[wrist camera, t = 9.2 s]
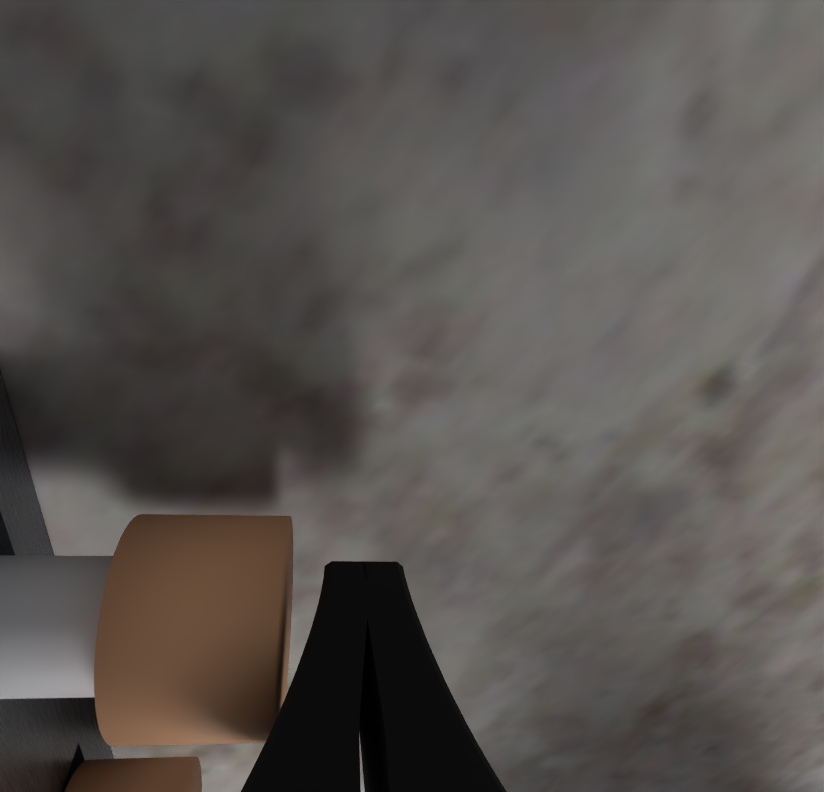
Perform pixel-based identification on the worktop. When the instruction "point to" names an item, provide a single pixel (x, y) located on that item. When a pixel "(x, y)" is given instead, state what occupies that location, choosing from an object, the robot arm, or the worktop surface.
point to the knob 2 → (137, 775)
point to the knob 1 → (158, 629)
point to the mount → (36, 717)
